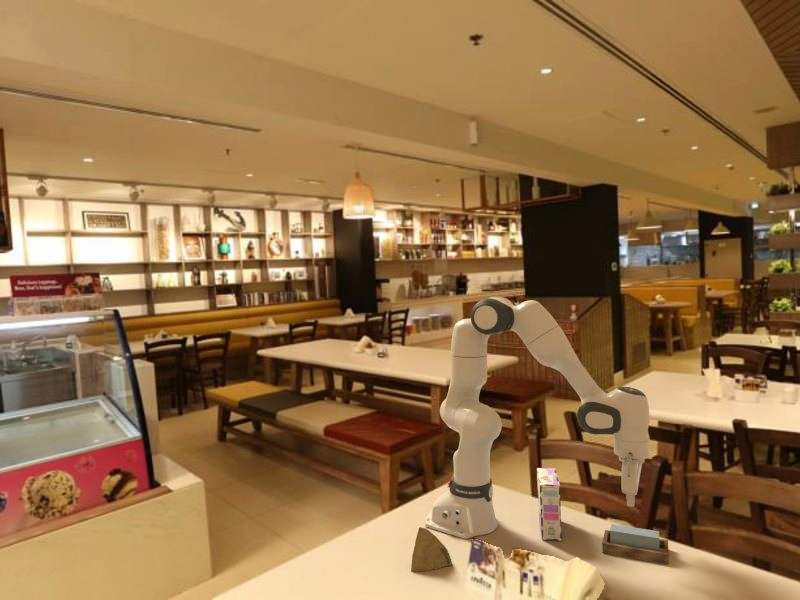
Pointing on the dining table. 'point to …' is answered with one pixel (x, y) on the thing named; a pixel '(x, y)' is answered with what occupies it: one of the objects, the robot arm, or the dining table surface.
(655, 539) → the key block
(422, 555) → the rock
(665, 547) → the open wooden box
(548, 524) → the candy box
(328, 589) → the dining table surface
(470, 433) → the robot arm
